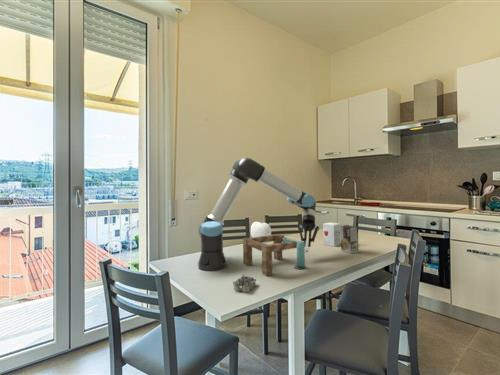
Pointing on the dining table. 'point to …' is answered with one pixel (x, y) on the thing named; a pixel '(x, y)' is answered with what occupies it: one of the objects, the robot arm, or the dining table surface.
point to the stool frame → (266, 250)
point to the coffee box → (349, 239)
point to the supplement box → (331, 234)
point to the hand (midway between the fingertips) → (306, 251)
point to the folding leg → (298, 251)
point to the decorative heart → (259, 232)
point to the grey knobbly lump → (247, 281)
